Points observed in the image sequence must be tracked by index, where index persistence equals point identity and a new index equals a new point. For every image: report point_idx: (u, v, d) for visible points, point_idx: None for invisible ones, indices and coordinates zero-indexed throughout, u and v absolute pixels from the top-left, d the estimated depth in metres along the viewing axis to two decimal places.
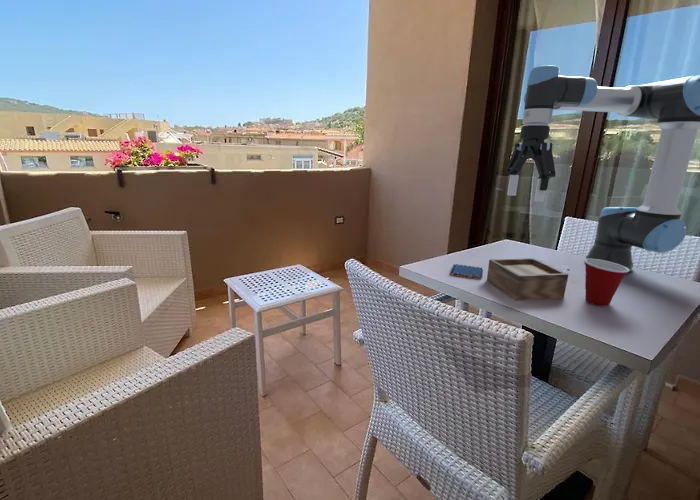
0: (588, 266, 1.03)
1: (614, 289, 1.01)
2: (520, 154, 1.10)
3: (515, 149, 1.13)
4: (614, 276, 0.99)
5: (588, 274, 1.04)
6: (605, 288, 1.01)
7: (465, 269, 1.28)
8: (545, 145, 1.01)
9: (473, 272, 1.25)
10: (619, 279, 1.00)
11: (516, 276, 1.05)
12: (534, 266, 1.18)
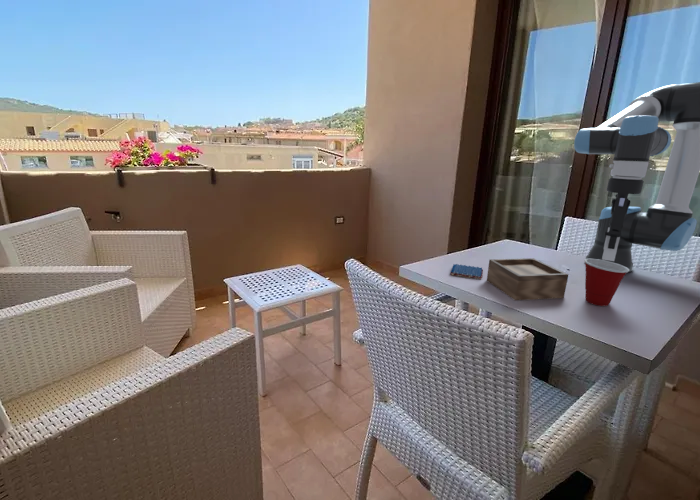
0: (588, 266, 1.03)
1: (614, 289, 1.01)
2: (611, 207, 1.02)
3: None
4: (614, 276, 0.99)
5: (588, 274, 1.04)
6: (605, 288, 1.01)
7: (465, 269, 1.28)
8: (617, 201, 0.93)
9: (473, 272, 1.25)
10: (619, 279, 1.00)
11: (516, 276, 1.05)
12: (534, 266, 1.18)
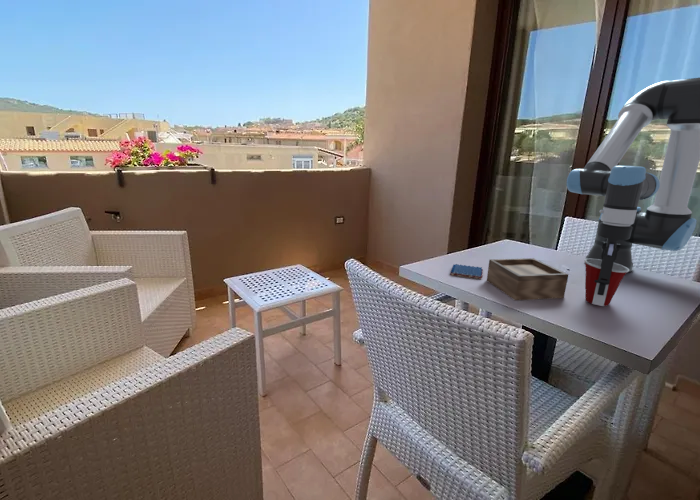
0: (588, 266, 1.03)
1: (614, 289, 1.01)
2: None
3: None
4: (614, 276, 0.99)
5: (588, 274, 1.04)
6: None
7: (465, 269, 1.28)
8: (606, 250, 0.97)
9: (473, 272, 1.25)
10: (619, 279, 1.00)
11: (516, 276, 1.05)
12: (534, 266, 1.18)
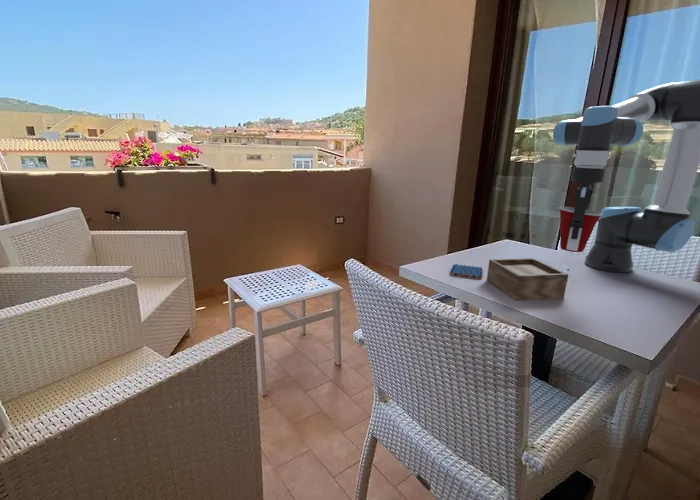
0: (562, 212, 1.03)
1: (588, 234, 1.01)
2: None
3: None
4: (587, 219, 0.99)
5: (563, 220, 1.03)
6: None
7: (465, 269, 1.28)
8: (579, 192, 0.96)
9: (473, 272, 1.25)
10: (592, 223, 1.00)
11: (516, 276, 1.05)
12: (534, 266, 1.18)
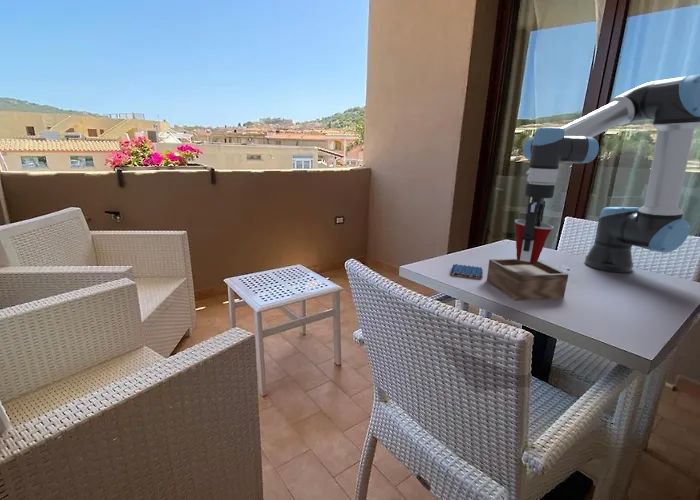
0: (517, 225, 1.09)
1: (540, 246, 1.07)
2: None
3: None
4: (538, 233, 1.05)
5: (517, 232, 1.10)
6: None
7: (465, 269, 1.28)
8: (529, 208, 1.03)
9: (473, 272, 1.25)
10: (543, 236, 1.06)
11: (516, 276, 1.05)
12: (534, 266, 1.18)
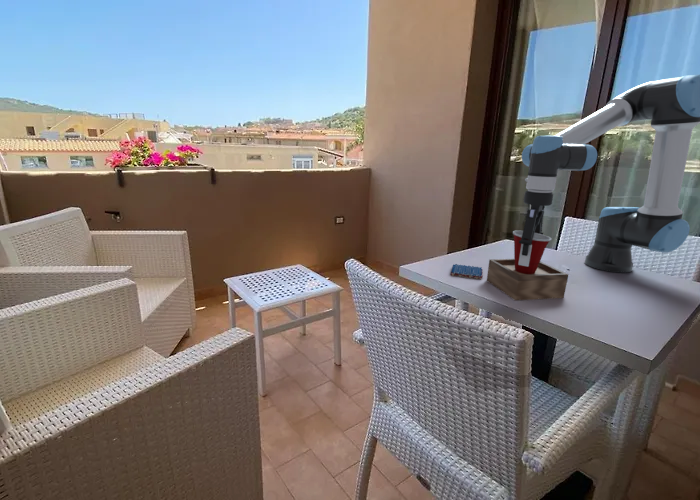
0: (515, 236, 1.10)
1: (538, 257, 1.08)
2: None
3: None
4: (536, 244, 1.06)
5: (515, 244, 1.11)
6: (530, 256, 1.08)
7: (465, 269, 1.28)
8: (528, 212, 1.03)
9: (473, 272, 1.25)
10: (541, 248, 1.07)
11: (516, 276, 1.05)
12: None
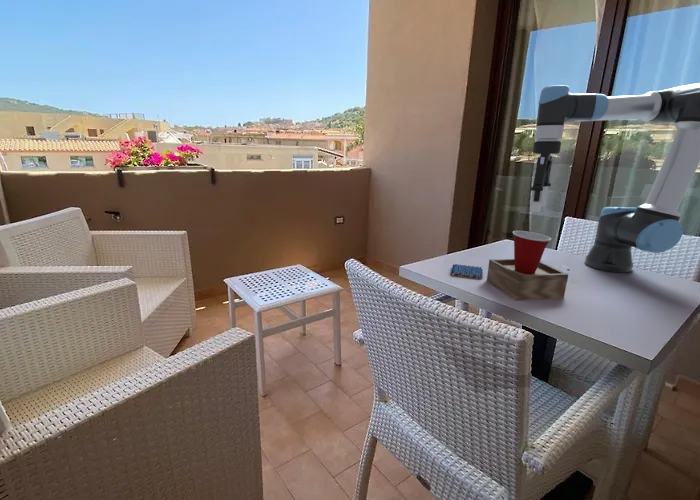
0: (515, 236, 1.10)
1: (538, 257, 1.08)
2: None
3: None
4: (536, 245, 1.06)
5: (515, 244, 1.11)
6: (529, 256, 1.08)
7: (465, 269, 1.28)
8: (538, 160, 1.09)
9: (473, 272, 1.25)
10: (541, 248, 1.07)
11: (516, 276, 1.05)
12: None
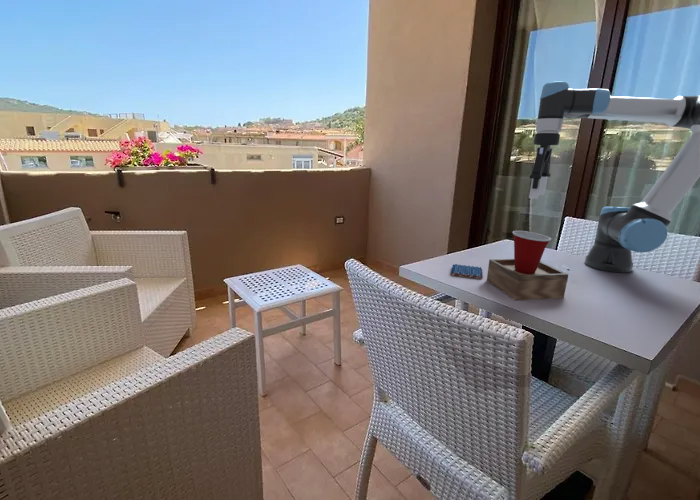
0: (515, 236, 1.10)
1: (538, 257, 1.08)
2: None
3: None
4: (536, 245, 1.06)
5: (515, 244, 1.11)
6: (529, 256, 1.08)
7: (465, 269, 1.28)
8: (538, 150, 1.18)
9: (473, 272, 1.25)
10: (541, 248, 1.07)
11: (516, 276, 1.05)
12: None
